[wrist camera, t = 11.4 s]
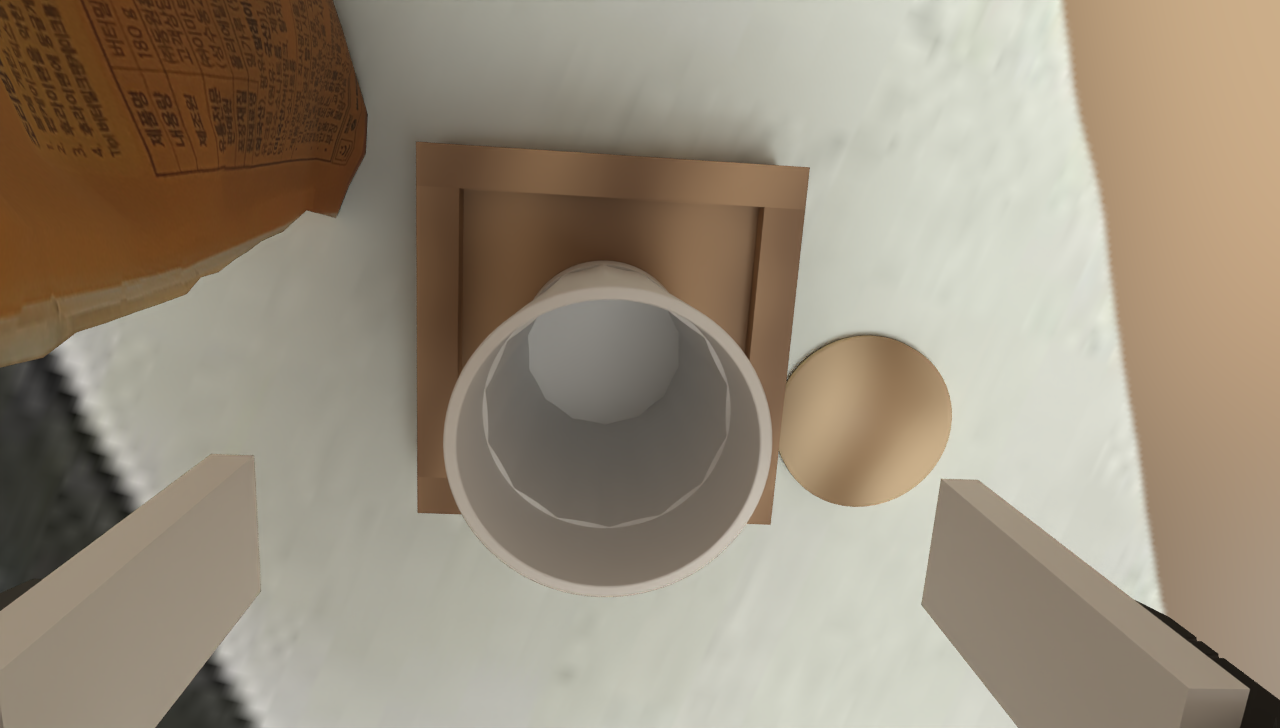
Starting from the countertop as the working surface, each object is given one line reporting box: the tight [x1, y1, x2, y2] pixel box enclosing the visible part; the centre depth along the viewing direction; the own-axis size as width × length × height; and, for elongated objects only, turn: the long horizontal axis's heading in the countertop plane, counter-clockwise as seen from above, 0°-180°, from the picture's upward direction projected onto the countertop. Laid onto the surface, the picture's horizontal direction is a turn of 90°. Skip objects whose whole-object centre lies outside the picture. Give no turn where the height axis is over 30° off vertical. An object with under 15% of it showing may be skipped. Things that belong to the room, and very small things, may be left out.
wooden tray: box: [416, 142, 810, 525], centre depth 32 cm, size 14×14×5 cm
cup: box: [443, 261, 772, 597], centre depth 25 cm, size 8×8×12 cm
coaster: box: [779, 335, 952, 507], centre depth 36 cm, size 8×8×1 cm
